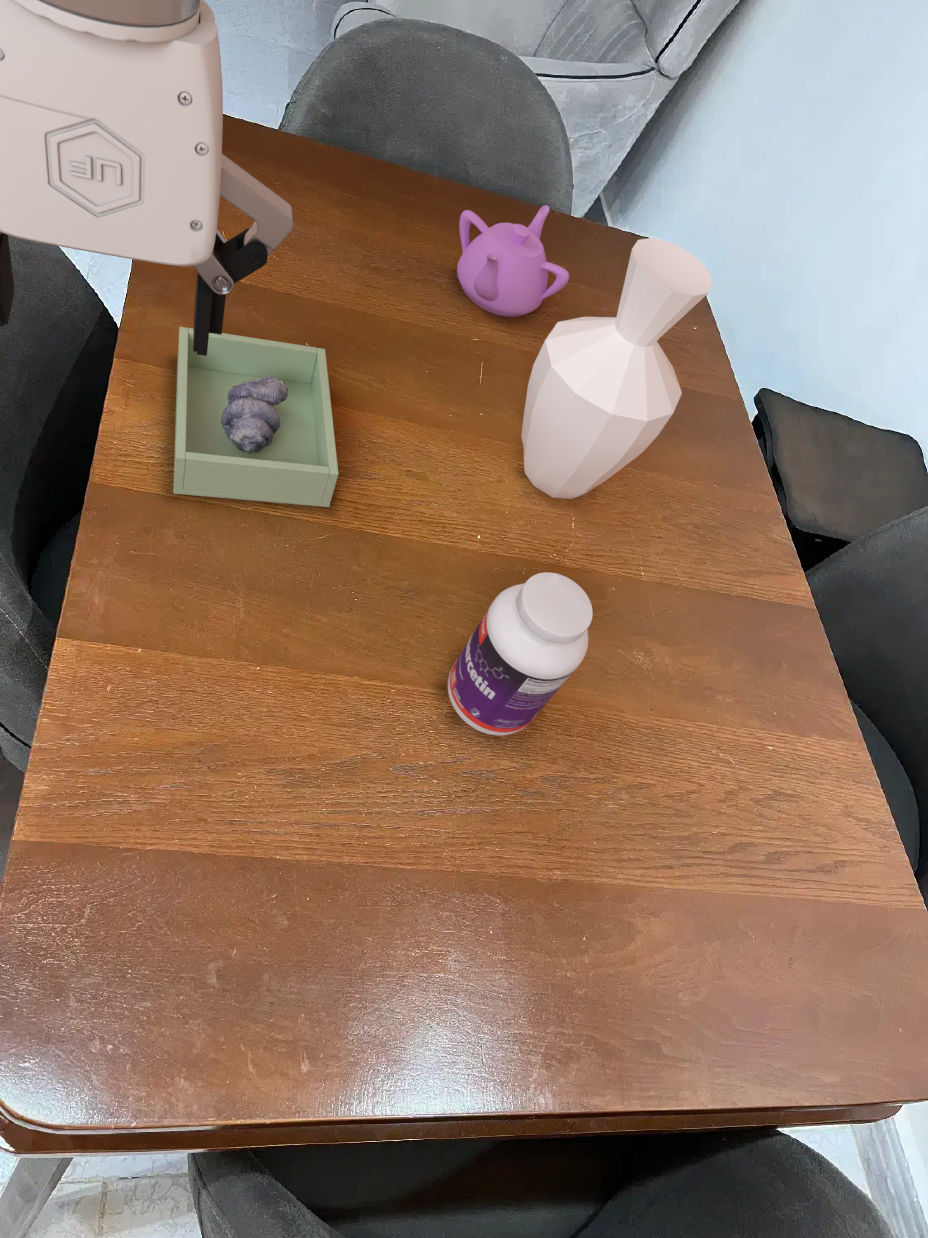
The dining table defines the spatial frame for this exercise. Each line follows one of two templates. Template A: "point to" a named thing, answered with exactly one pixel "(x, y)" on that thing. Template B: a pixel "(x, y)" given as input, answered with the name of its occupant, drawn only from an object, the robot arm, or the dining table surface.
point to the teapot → (506, 266)
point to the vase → (609, 376)
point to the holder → (299, 447)
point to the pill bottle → (521, 653)
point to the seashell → (253, 413)
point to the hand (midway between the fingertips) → (105, 324)
